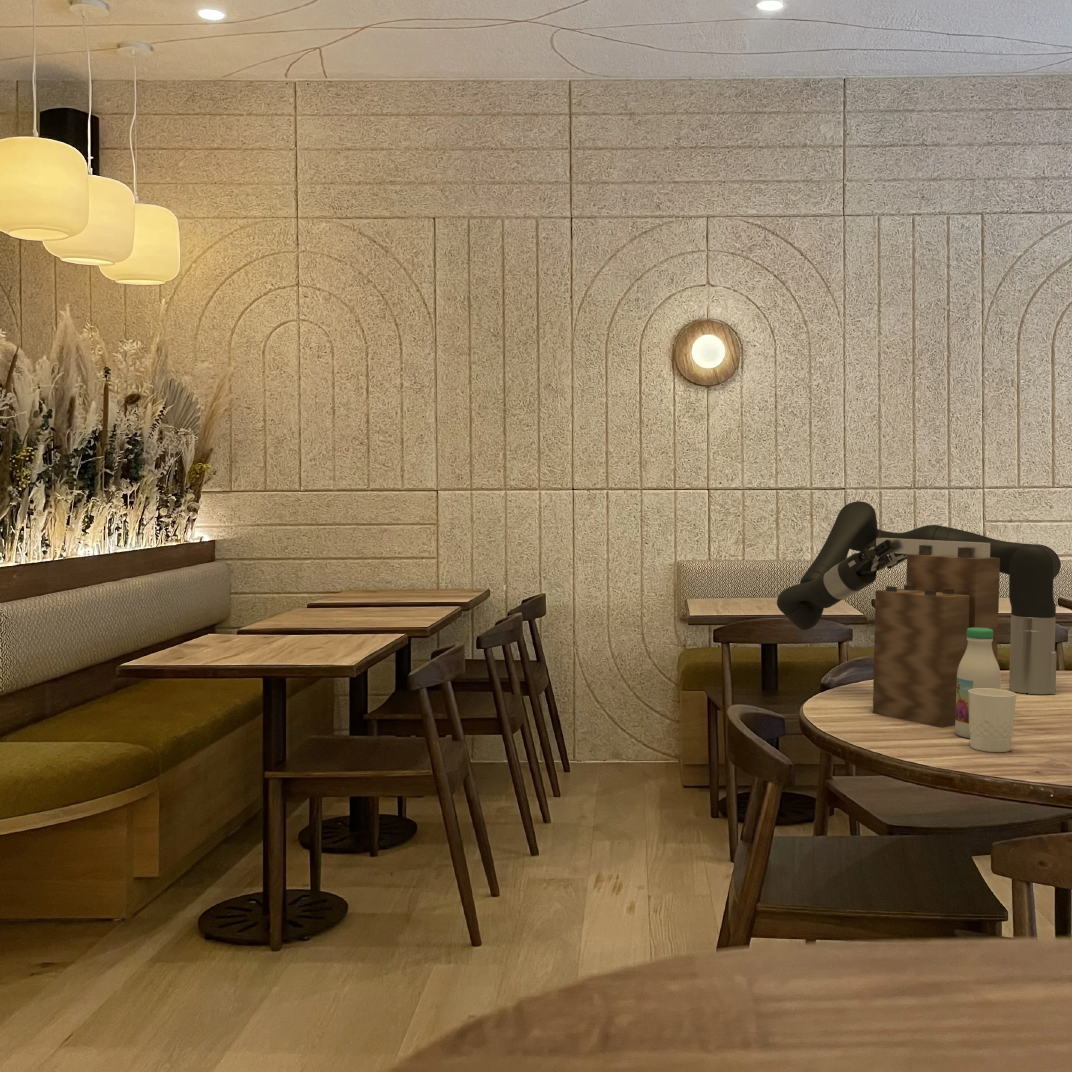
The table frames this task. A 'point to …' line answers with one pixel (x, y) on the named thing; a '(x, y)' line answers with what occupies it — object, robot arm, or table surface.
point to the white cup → (991, 719)
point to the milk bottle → (975, 674)
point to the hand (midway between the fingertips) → (903, 543)
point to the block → (937, 547)
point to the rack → (930, 633)
